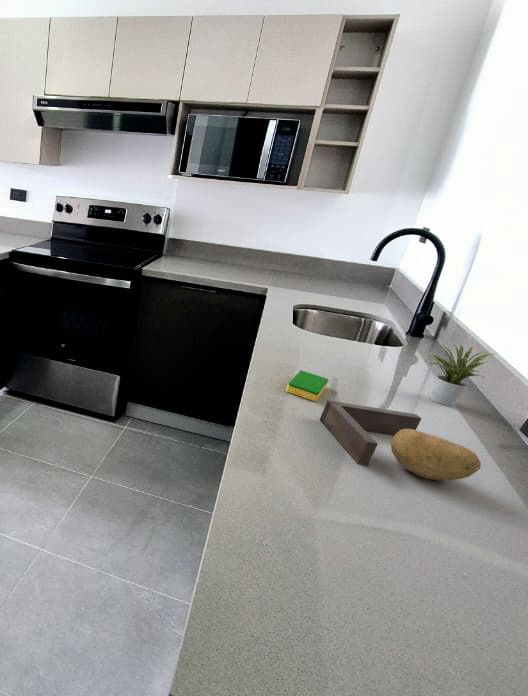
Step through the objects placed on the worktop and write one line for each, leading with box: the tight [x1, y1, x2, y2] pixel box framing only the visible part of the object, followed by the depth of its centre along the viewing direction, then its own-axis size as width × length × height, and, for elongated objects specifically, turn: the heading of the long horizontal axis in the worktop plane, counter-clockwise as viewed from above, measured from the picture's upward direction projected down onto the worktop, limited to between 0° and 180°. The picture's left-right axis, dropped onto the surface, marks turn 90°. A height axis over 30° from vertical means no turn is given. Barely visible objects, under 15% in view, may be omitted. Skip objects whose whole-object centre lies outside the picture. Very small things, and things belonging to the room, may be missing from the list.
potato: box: [390, 429, 482, 481], centre depth 94 cm, size 10×14×8 cm
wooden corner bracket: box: [319, 399, 422, 466], centre depth 103 cm, size 20×18×5 cm
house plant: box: [426, 341, 495, 407], centre depth 131 cm, size 14×14×16 cm
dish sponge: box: [285, 369, 330, 402], centre depth 128 cm, size 7×14×2 cm, turn 143°
